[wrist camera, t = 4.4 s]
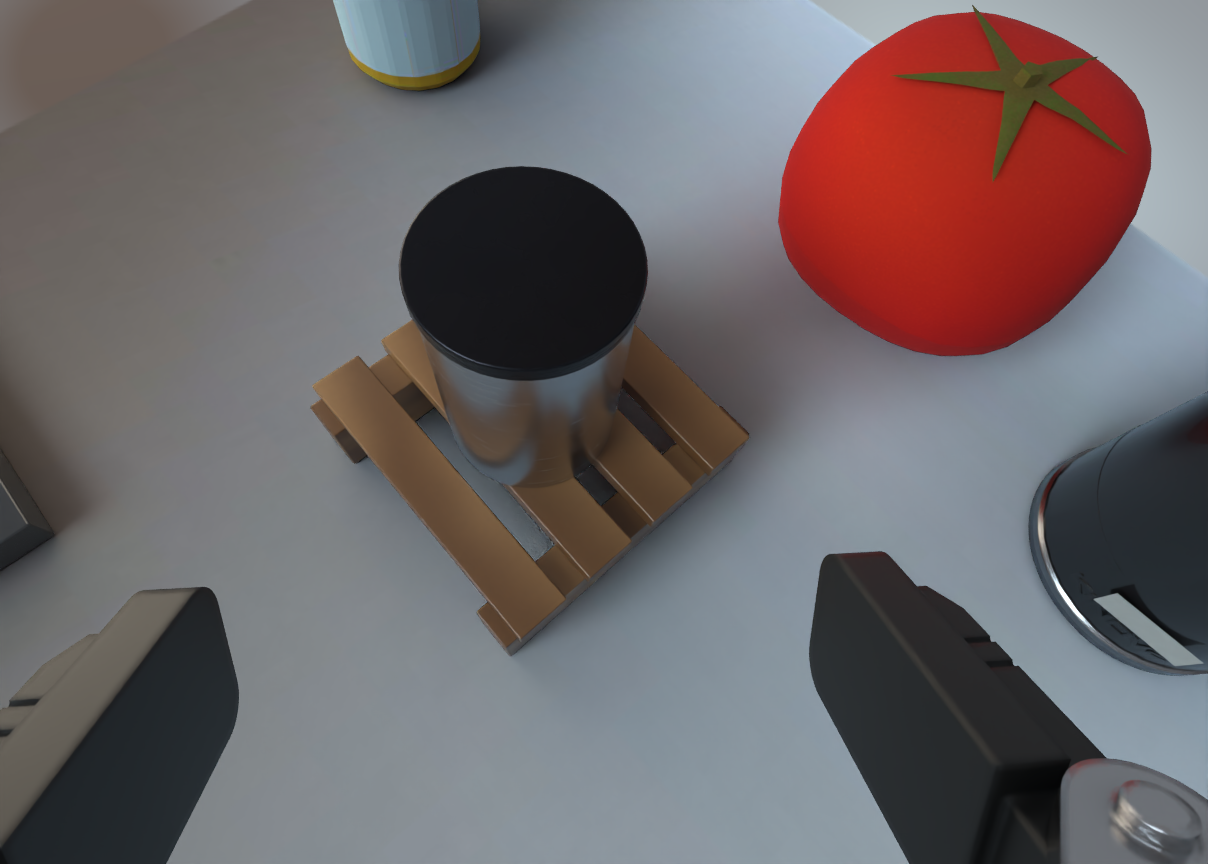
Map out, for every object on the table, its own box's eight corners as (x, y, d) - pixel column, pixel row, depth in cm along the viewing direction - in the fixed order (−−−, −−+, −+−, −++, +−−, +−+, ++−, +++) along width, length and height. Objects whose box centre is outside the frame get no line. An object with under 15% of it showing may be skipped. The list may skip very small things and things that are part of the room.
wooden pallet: (551, 281, 32) (551, 227, 29) (734, 464, 29) (759, 429, 26) (329, 433, 29) (299, 392, 25) (513, 661, 26) (508, 650, 22)
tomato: (1055, 249, 35) (1274, 42, 25) (950, 450, 30) (1167, 300, 20) (835, 130, 38) (948, -108, 27) (704, 299, 33) (779, 91, 22)
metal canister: (543, 310, 27) (540, 130, 19) (650, 420, 26) (698, 276, 18) (413, 401, 25) (347, 244, 17) (521, 526, 24) (506, 420, 16)
